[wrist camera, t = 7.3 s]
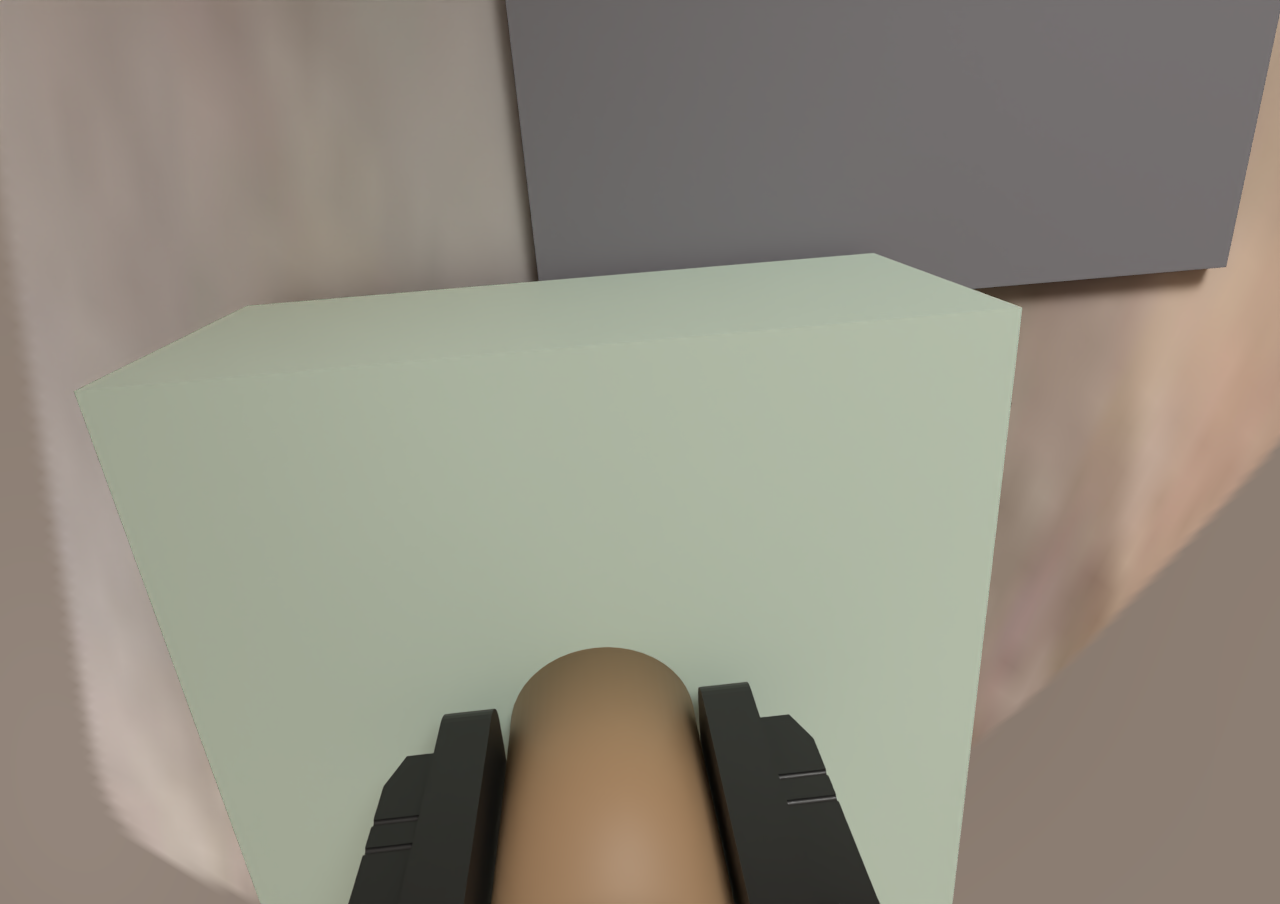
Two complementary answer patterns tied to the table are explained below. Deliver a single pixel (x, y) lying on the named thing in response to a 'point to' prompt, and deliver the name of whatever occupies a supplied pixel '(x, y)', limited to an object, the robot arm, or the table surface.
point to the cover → (576, 556)
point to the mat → (889, 133)
